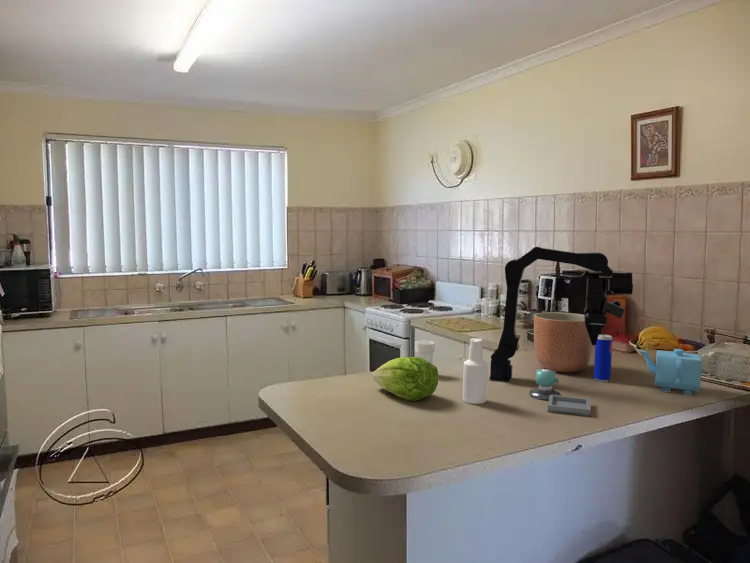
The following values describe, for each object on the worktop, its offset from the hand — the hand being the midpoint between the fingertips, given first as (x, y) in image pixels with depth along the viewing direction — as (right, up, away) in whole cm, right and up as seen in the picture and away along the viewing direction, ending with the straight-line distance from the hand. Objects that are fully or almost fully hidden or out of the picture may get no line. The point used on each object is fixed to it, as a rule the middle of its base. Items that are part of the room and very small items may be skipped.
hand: (593, 342), depth 184 cm
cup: (-52, -13, +15) cm, 56 cm away
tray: (-14, -16, -20) cm, 30 cm away
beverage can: (+7, -14, +12) cm, 19 cm away
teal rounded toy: (-18, -11, -9) cm, 23 cm away
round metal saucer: (-18, -15, -8) cm, 25 cm away
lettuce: (-60, -15, -10) cm, 63 cm away
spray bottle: (-40, -16, -15) cm, 45 cm away
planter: (-2, -13, +26) cm, 29 cm away
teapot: (+24, -15, +3) cm, 29 cm away
